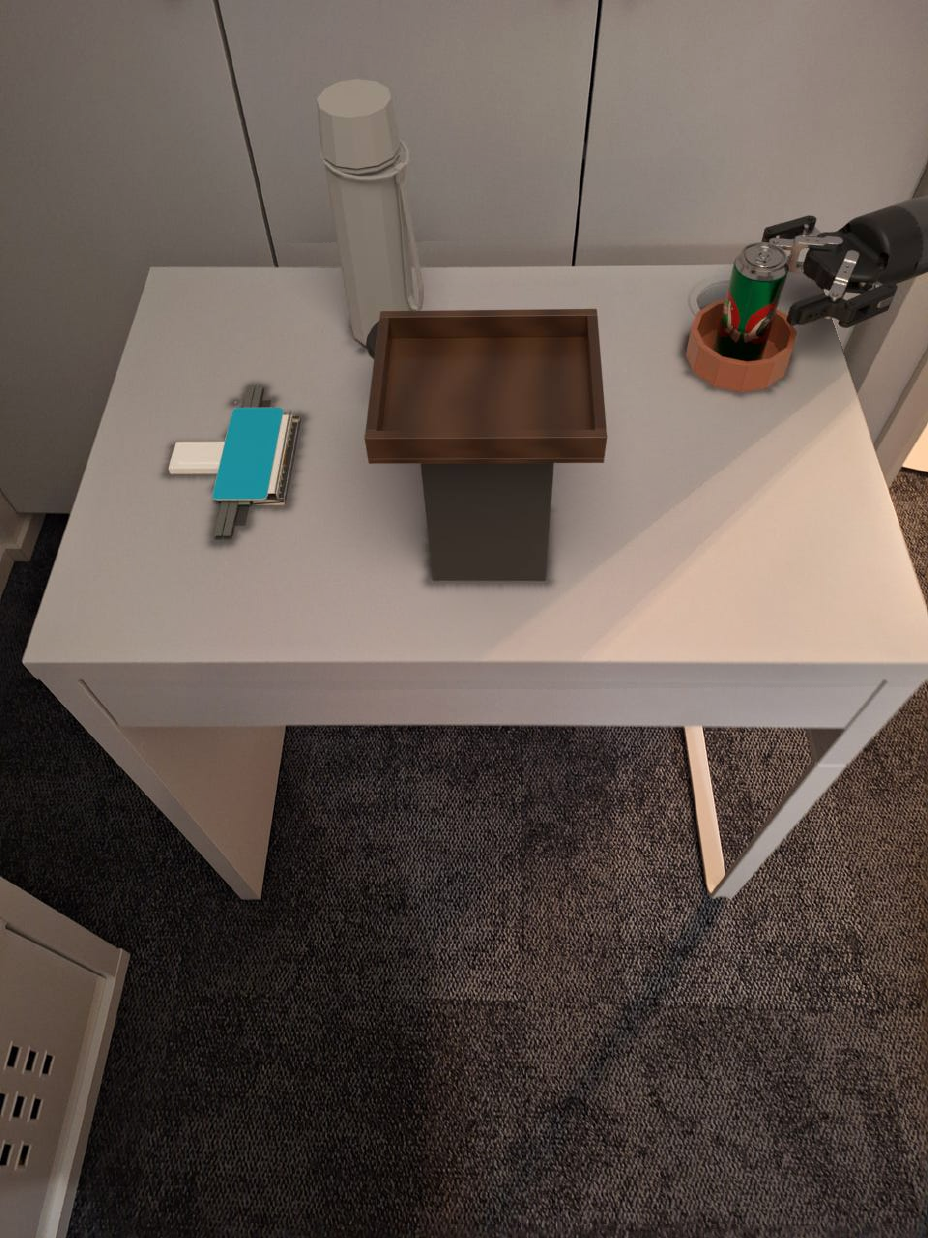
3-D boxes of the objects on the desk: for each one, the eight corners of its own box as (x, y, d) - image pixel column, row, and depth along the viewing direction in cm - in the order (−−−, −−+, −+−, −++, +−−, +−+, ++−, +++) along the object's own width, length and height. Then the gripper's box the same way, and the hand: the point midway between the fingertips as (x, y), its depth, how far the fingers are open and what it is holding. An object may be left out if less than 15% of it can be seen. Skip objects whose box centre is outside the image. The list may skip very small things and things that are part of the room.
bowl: (794, 336, 97) (803, 309, 94) (777, 400, 92) (786, 373, 89) (699, 317, 100) (705, 290, 97) (677, 378, 94) (682, 351, 92)
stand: (544, 511, 85) (552, 359, 70) (545, 581, 81) (555, 434, 66) (437, 512, 86) (423, 360, 71) (433, 581, 81) (417, 435, 66)
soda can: (766, 347, 96) (797, 246, 86) (754, 378, 94) (784, 277, 84) (720, 335, 98) (744, 234, 88) (706, 365, 95) (730, 264, 85)
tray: (594, 334, 72) (597, 308, 70) (604, 463, 64) (607, 437, 62) (383, 336, 72) (379, 310, 70) (368, 463, 65) (364, 438, 63)
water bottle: (336, 341, 100) (292, 107, 79) (377, 301, 103) (346, 67, 82) (406, 370, 97) (380, 134, 76) (446, 327, 100) (432, 91, 79)
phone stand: (193, 390, 96) (189, 378, 95) (306, 389, 95) (303, 377, 94) (152, 540, 85) (146, 528, 84) (279, 540, 84) (275, 528, 83)
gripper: (863, 173, 94) (729, 217, 90) (961, 248, 86) (820, 299, 83) (840, 239, 100) (715, 283, 96) (930, 314, 92) (798, 364, 89)
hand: (764, 290), depth 90 cm, fingers open, 8 cm apart
